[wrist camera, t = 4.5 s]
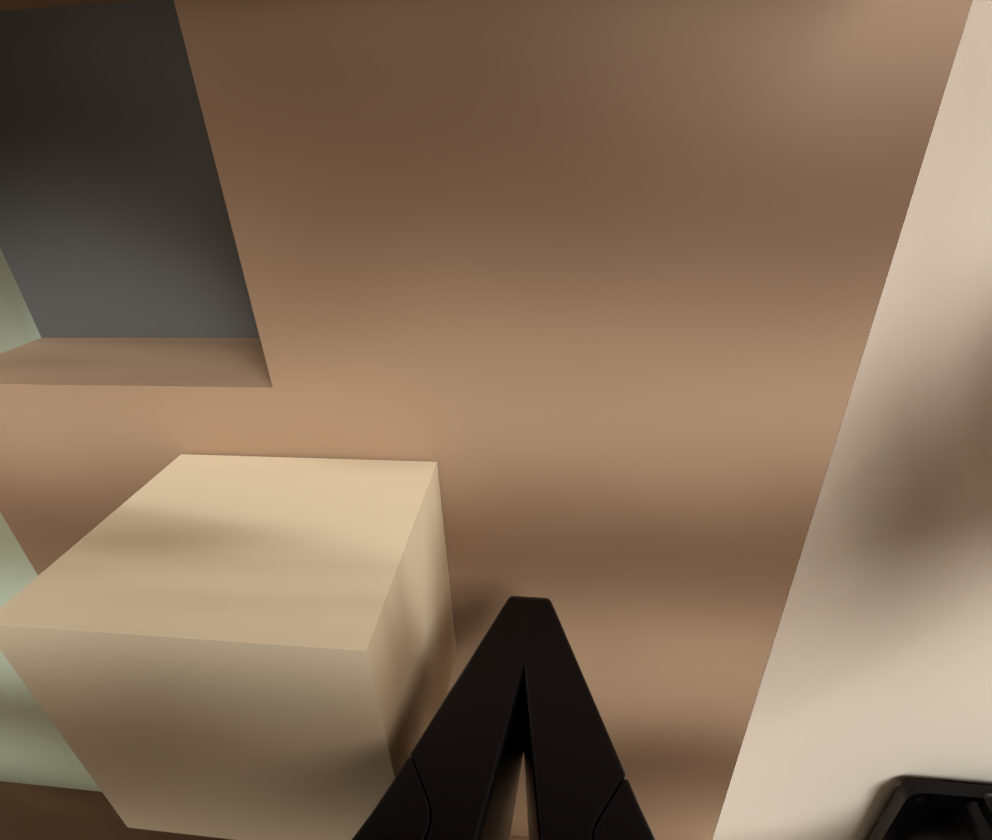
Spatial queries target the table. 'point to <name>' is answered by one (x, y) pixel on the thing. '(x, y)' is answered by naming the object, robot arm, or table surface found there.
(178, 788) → the maple block
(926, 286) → the table surface
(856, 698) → the table surface
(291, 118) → the box
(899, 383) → the table surface
